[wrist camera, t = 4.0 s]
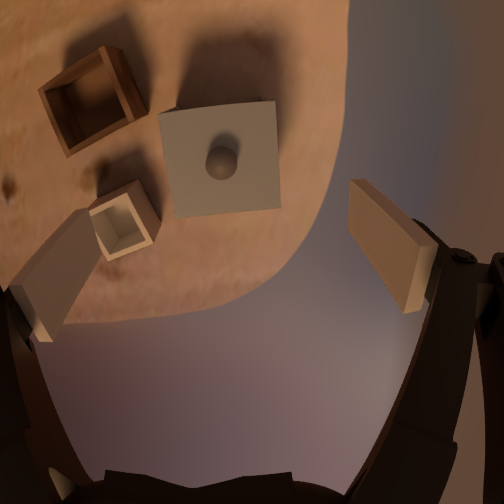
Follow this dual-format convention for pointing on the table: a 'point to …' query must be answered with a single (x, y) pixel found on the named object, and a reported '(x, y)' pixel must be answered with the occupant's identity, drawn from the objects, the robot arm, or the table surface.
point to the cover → (221, 158)
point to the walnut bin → (92, 99)
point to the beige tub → (124, 220)
